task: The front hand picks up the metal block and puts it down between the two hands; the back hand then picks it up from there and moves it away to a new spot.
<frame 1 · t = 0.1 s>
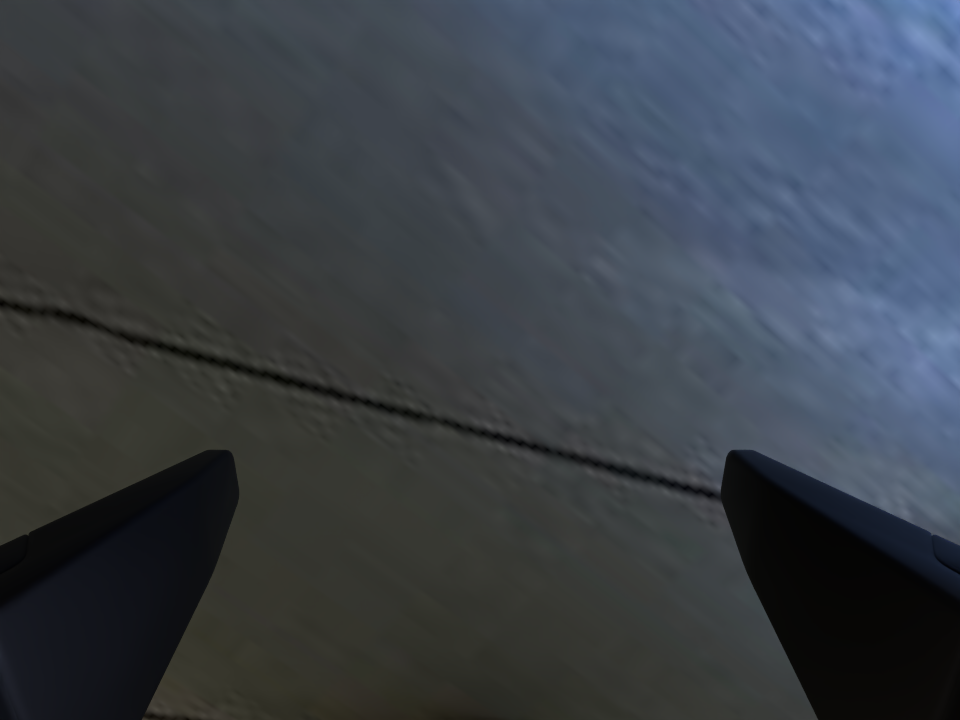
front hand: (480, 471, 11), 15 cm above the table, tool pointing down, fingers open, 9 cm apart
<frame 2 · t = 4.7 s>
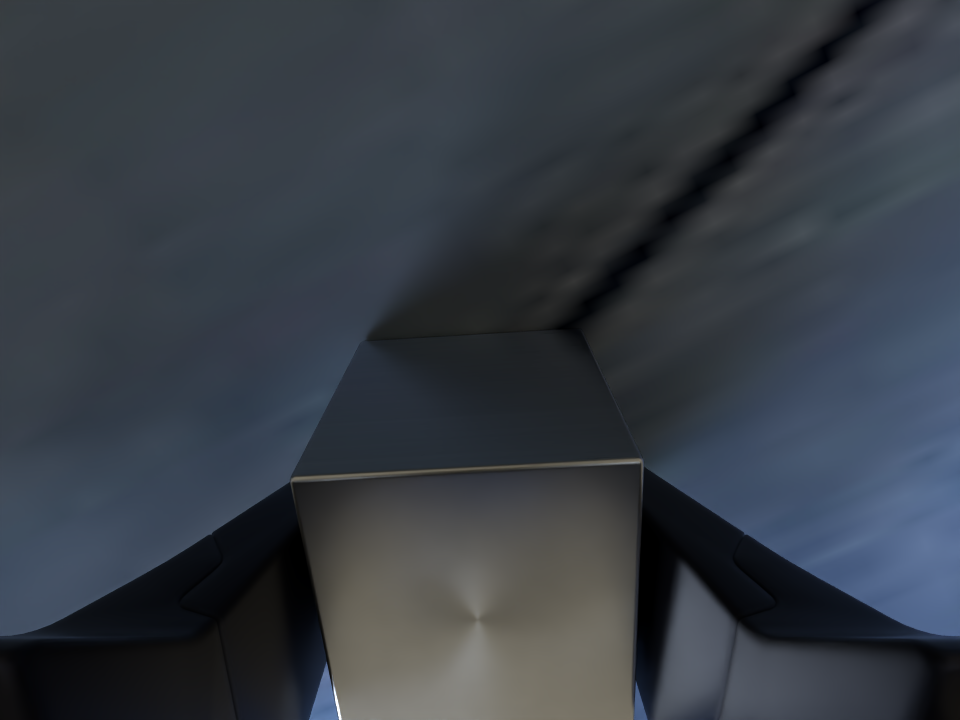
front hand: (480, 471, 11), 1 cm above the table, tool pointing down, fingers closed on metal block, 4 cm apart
metal block: (478, 439, 12), on the table, touching front hand
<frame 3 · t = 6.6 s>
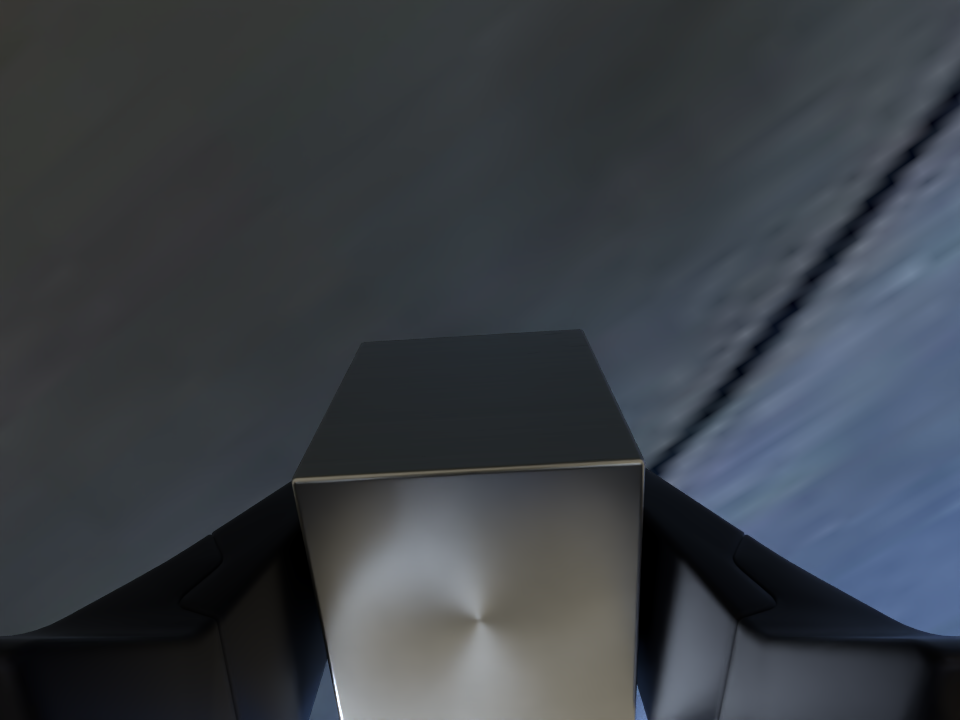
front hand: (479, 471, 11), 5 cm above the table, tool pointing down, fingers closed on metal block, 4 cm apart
metal block: (479, 440, 12), point 4 cm above the table, touching front hand
when the front hand's fingers open (2 cm above the table, at t = 8.9 s): metal block stays where it is, on the table.
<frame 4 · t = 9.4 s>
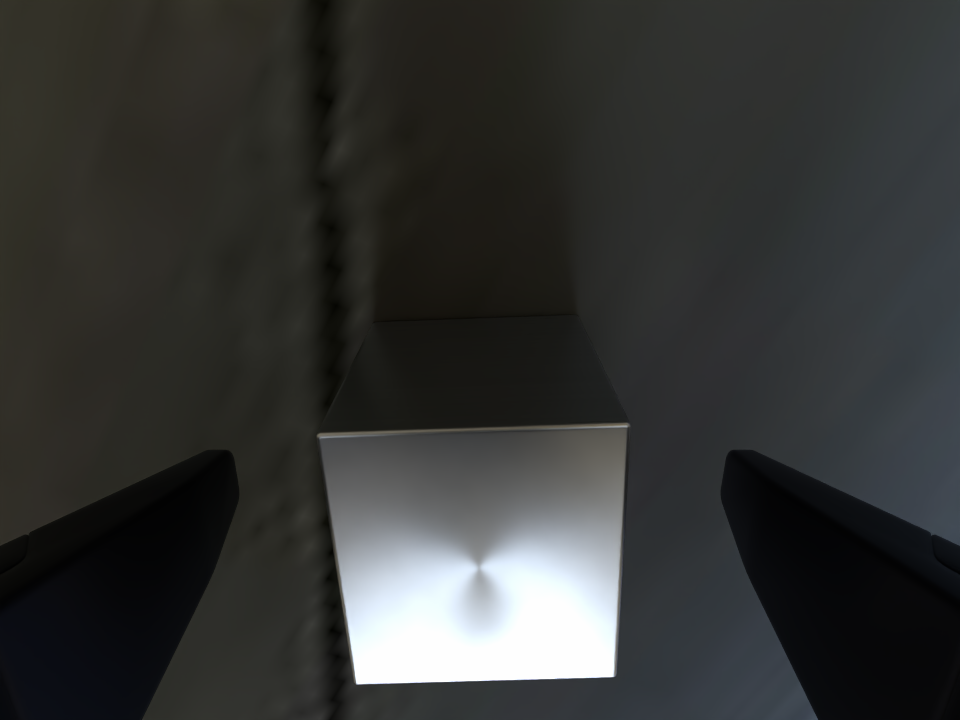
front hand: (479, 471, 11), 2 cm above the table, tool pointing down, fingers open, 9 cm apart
metal block: (479, 417, 13), on the table
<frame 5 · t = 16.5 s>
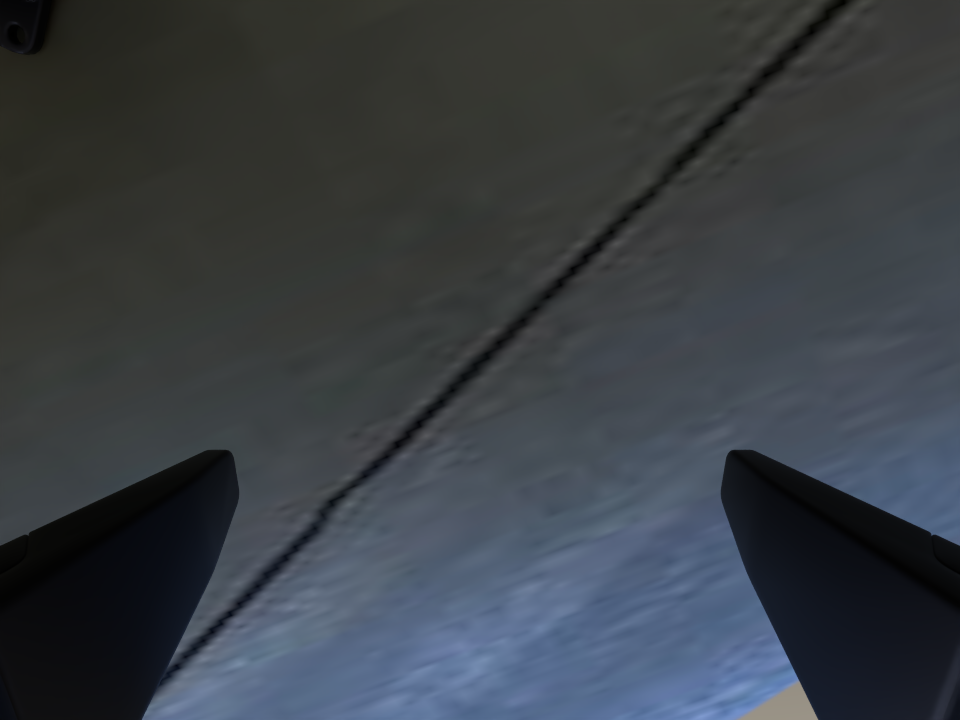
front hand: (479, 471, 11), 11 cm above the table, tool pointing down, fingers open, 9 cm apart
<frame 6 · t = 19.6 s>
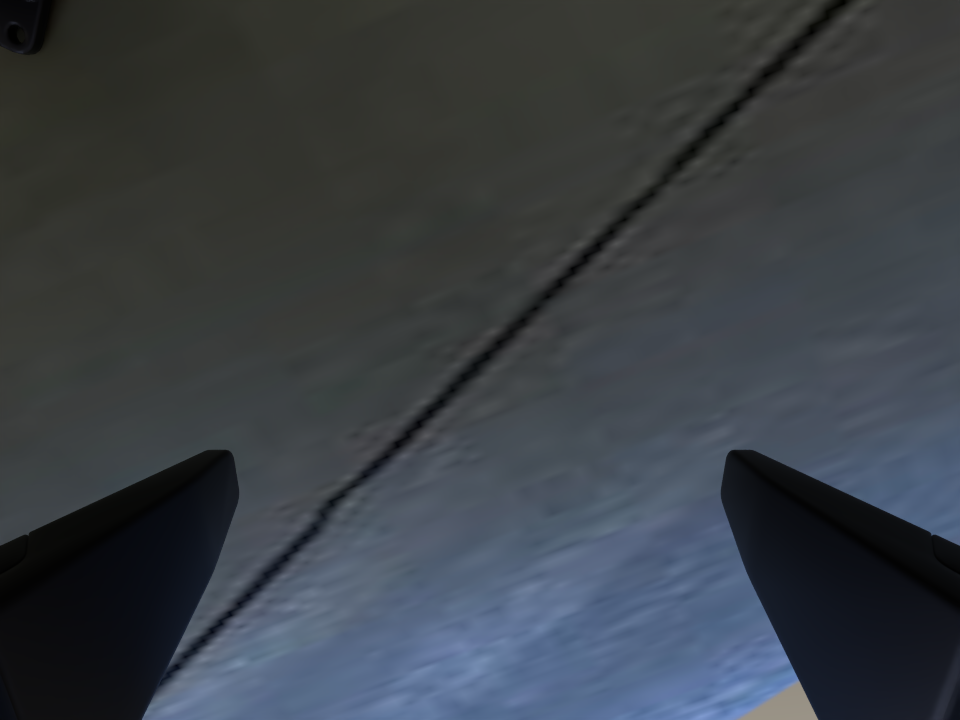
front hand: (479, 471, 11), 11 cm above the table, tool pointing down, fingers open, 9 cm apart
when the back hand's fingers open (3 cm above the table, at t = 22.7 s): metal block stays where it is, on the table.
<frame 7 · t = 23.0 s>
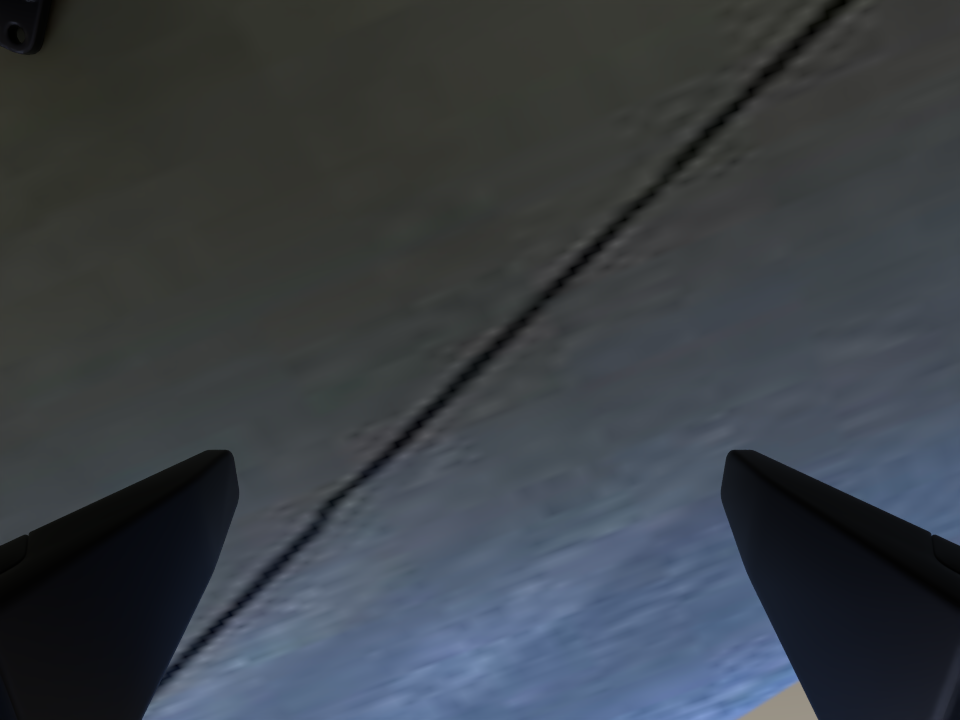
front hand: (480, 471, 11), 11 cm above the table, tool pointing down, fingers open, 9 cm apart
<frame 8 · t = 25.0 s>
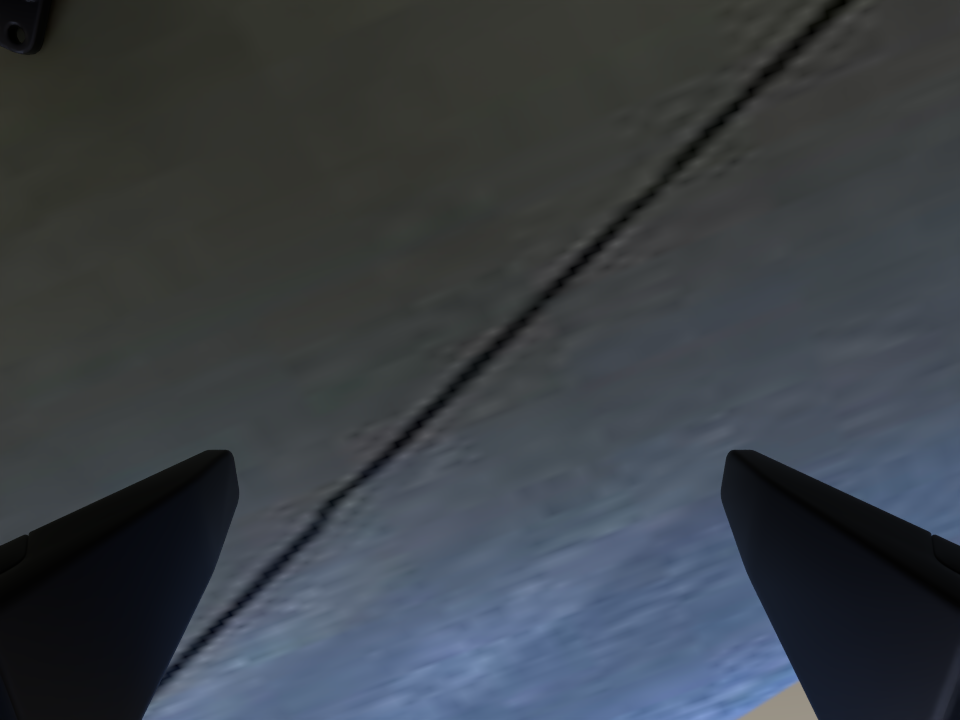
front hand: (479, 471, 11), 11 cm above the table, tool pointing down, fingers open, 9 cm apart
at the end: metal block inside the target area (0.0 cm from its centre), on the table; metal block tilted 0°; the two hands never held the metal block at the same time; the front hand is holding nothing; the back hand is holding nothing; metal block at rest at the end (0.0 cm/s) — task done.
